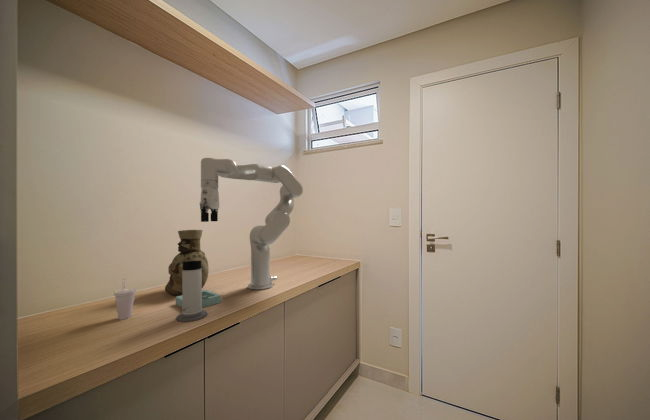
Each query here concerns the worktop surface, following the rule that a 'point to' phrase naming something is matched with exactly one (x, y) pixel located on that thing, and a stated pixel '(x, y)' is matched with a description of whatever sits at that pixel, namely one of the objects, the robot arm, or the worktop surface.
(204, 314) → the pad
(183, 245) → the ceramic vessel
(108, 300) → the worktop surface
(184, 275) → the travel mug
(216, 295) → the dock collar
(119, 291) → the smoothie
